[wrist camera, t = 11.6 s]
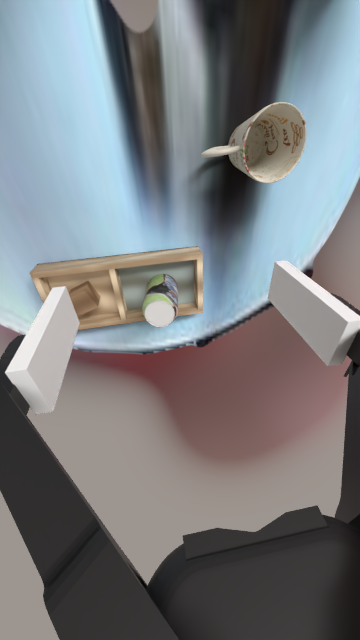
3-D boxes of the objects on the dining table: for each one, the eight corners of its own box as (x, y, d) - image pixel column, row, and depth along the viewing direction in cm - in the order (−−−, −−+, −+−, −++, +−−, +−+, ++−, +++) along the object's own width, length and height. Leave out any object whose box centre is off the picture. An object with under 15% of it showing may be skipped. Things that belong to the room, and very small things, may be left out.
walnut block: (70, 289, 47) (65, 299, 43) (88, 280, 46) (84, 290, 43) (83, 304, 49) (79, 315, 46) (100, 296, 48) (98, 306, 45)
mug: (269, 171, 41) (302, 176, 33) (198, 186, 41) (213, 196, 33) (272, 107, 36) (311, 95, 28) (191, 124, 36) (207, 117, 28)
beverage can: (171, 300, 51) (180, 335, 42) (137, 293, 49) (138, 329, 40) (180, 274, 48) (192, 305, 39) (144, 265, 46) (147, 296, 36)
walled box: (37, 264, 44) (29, 273, 41) (197, 246, 47) (202, 253, 43) (62, 321, 52) (57, 332, 48) (198, 303, 54) (202, 312, 51)
